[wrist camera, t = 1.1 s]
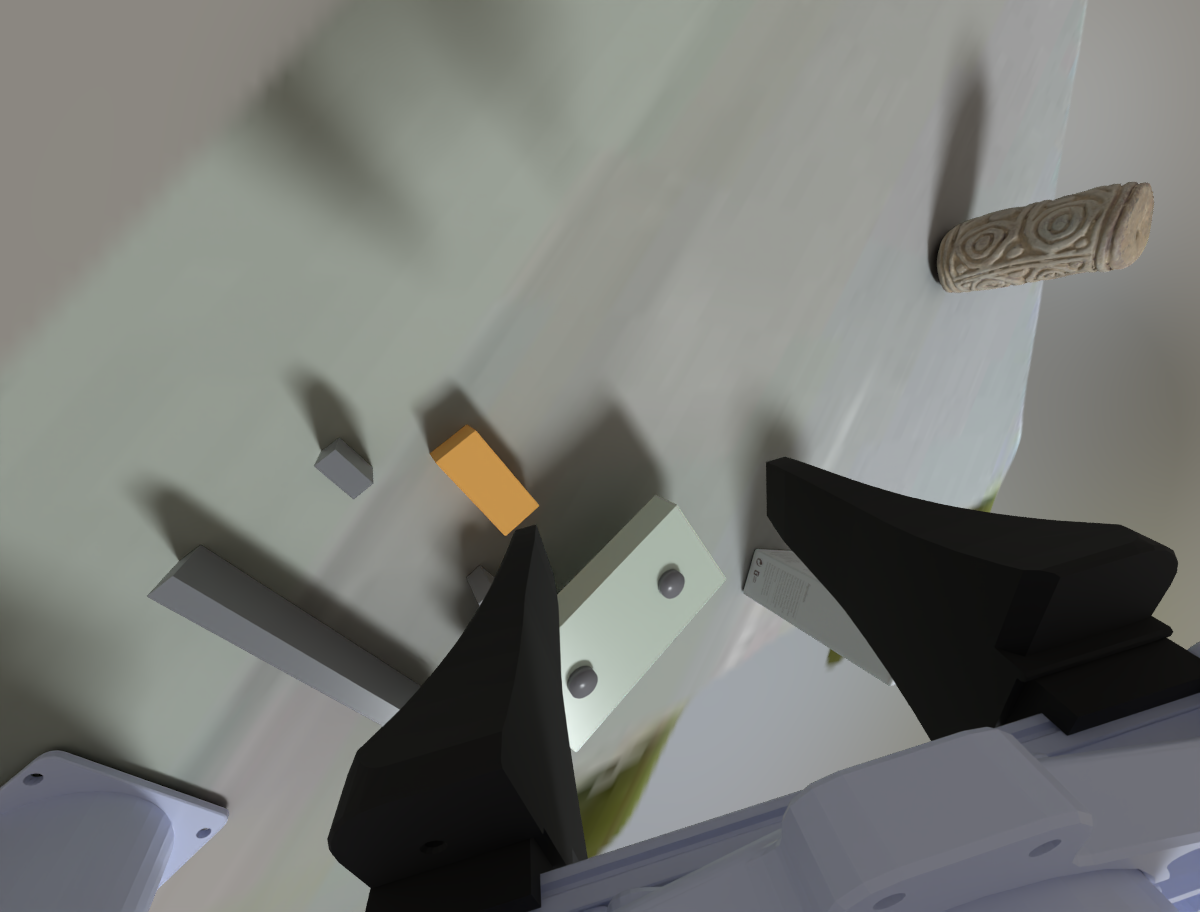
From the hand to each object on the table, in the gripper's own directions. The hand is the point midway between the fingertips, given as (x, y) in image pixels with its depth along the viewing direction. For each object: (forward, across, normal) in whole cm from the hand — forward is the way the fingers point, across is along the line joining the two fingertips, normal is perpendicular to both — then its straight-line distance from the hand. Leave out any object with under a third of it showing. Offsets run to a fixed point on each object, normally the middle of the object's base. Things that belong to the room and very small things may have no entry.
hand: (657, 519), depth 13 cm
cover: (+10, +4, +12) cm, 17 cm away
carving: (+28, -37, +2) cm, 47 cm away
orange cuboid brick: (+11, +7, +3) cm, 14 cm away
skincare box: (+16, -12, +22) cm, 29 cm away
